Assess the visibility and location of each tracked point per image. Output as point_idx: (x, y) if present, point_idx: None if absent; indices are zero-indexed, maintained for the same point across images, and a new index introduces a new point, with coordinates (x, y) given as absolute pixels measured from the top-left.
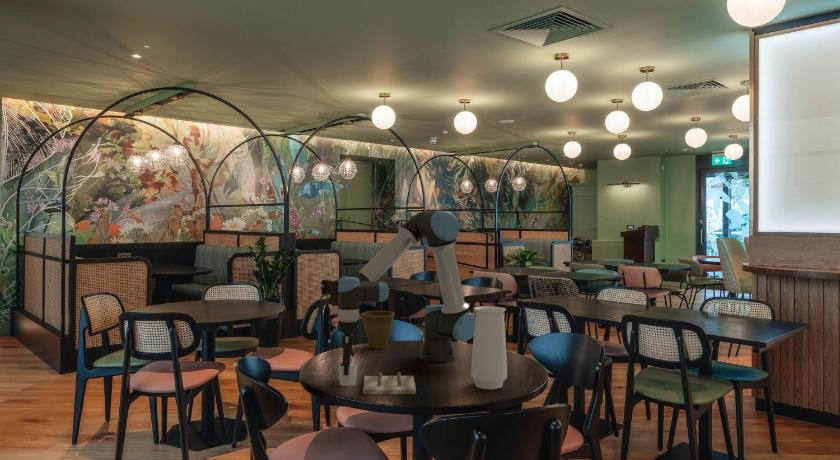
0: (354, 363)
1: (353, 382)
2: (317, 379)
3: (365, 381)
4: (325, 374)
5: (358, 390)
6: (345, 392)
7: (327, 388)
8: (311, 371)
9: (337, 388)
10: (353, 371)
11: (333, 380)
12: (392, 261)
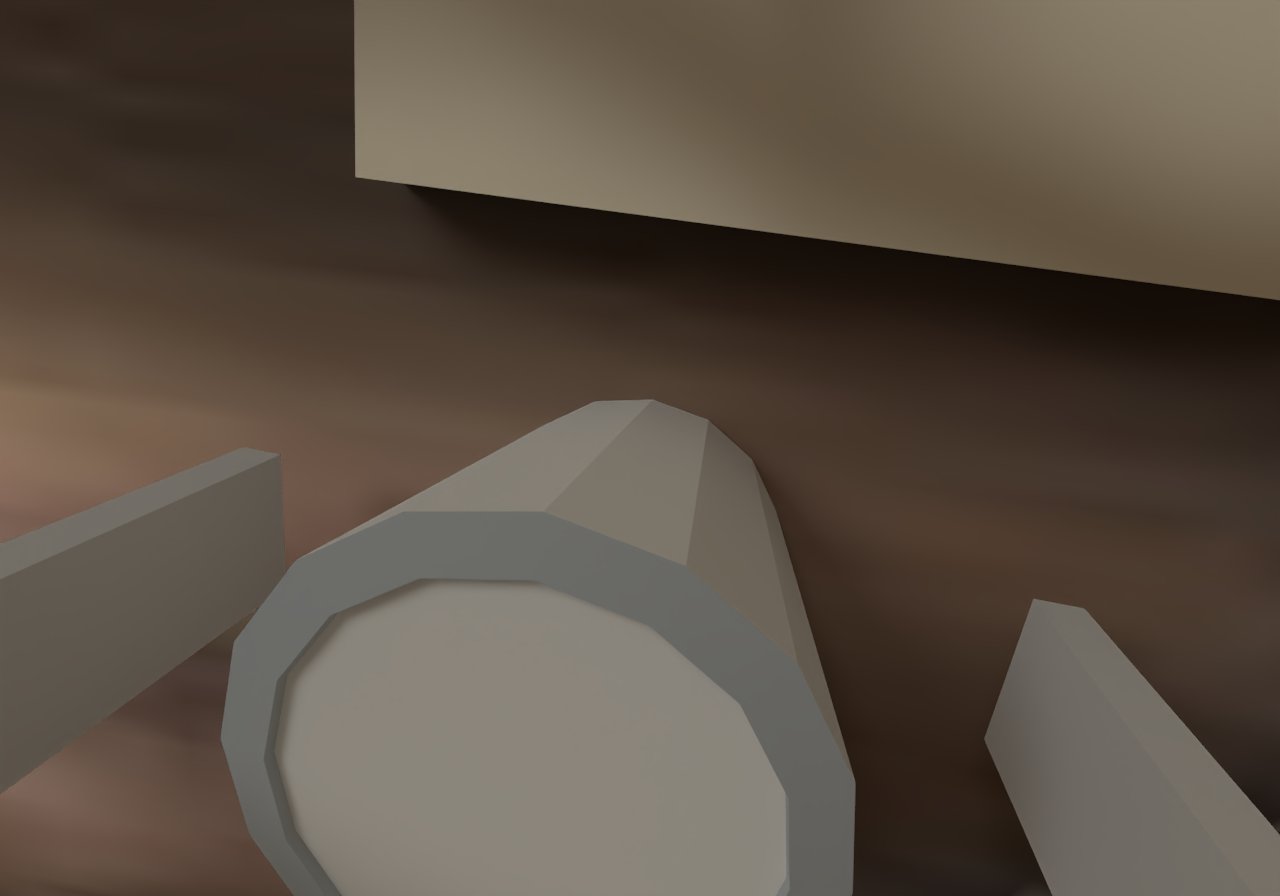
0: (346, 591)
1: (746, 467)
2: None
3: (843, 206)
4: (111, 758)
5: (1158, 396)
6: (1206, 649)
7: None
8: (3, 879)
9: (889, 730)
10: (784, 594)
11: None
12: None
